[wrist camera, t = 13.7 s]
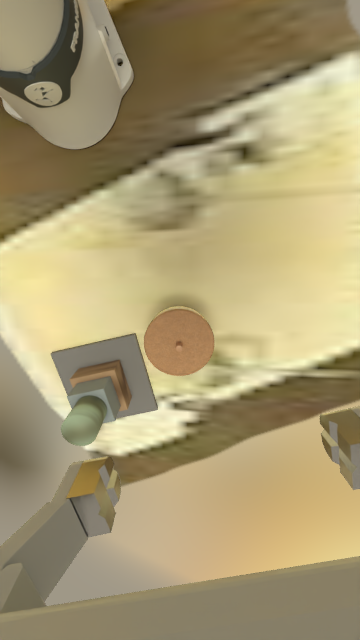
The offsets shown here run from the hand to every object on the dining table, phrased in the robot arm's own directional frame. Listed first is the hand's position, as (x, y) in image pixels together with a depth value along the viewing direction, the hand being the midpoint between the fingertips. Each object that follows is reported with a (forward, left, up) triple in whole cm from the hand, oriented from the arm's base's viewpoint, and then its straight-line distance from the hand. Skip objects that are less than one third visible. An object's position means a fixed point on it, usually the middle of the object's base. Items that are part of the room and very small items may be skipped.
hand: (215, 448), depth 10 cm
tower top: (+13, -19, -30) cm, 38 cm away
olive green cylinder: (+13, -19, -26) cm, 35 cm away
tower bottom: (+13, -19, -34) cm, 41 cm away
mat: (+13, -19, -35) cm, 42 cm away
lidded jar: (+6, -3, -35) cm, 36 cm away
